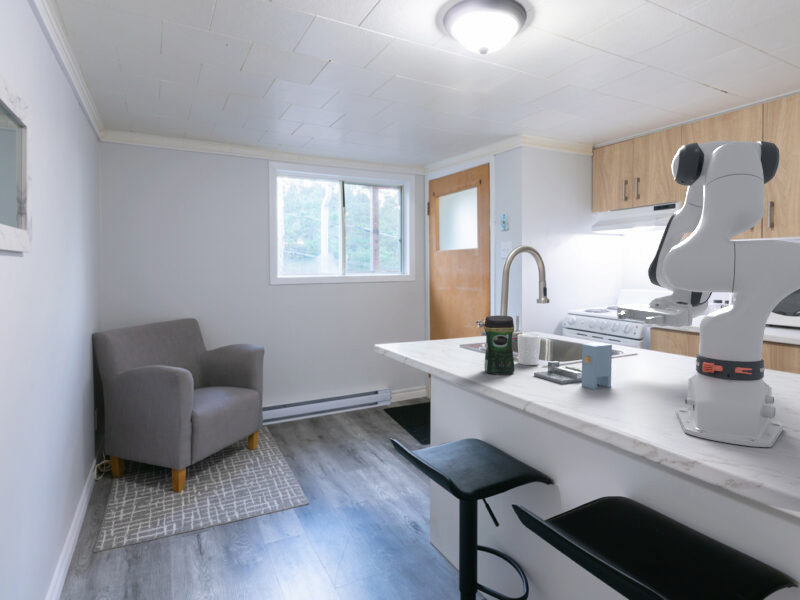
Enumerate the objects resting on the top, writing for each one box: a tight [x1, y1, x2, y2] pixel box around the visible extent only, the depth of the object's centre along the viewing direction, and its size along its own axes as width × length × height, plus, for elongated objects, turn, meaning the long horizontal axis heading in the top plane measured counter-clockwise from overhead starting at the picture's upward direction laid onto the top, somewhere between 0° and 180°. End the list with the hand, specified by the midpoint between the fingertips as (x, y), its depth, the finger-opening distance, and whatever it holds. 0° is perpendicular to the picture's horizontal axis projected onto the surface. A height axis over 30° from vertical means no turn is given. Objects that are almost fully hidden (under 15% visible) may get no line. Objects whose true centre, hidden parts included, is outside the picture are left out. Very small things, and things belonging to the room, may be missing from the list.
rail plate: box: [533, 360, 582, 385], centre depth 143 cm, size 12×14×4 cm
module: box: [581, 342, 613, 390], centre depth 132 cm, size 4×7×12 cm, turn 115°
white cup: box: [517, 333, 542, 366], centre depth 165 cm, size 8×8×10 cm
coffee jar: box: [483, 314, 516, 375], centre depth 151 cm, size 10×8×19 cm
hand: (633, 318), depth 136 cm, fingers open, 8 cm apart
